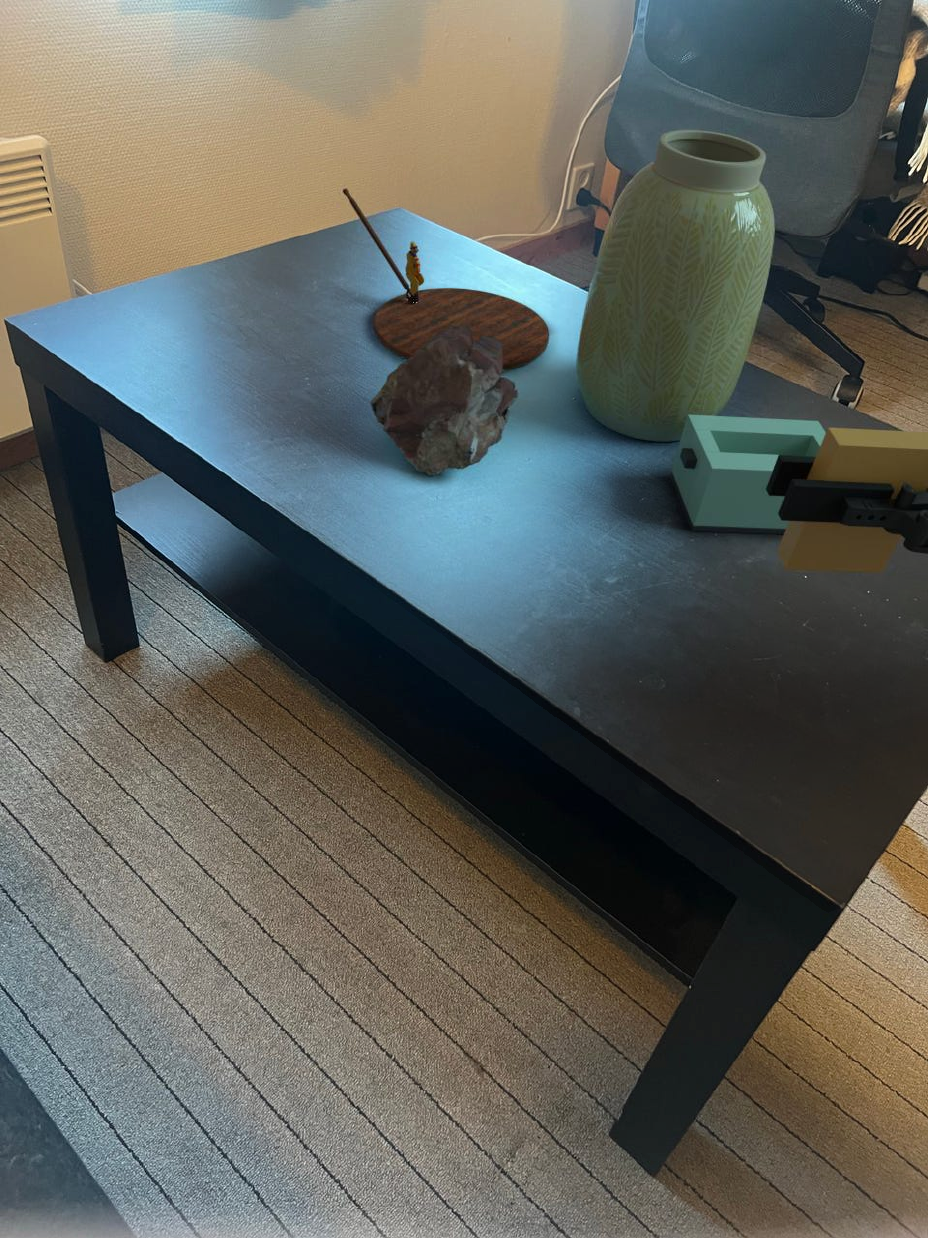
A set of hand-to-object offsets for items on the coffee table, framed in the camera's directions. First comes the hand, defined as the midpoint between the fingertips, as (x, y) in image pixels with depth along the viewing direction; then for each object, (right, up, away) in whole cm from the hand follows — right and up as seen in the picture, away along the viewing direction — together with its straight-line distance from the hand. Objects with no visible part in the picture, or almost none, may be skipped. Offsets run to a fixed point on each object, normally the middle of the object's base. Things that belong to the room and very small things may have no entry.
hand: (780, 487), depth 60 cm
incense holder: (-24, +28, +54) cm, 65 cm away
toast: (+5, -5, +5) cm, 8 cm away
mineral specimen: (-22, +9, +34) cm, 42 cm away
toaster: (+7, +3, +30) cm, 31 cm away
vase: (-1, +14, +42) cm, 45 cm away
